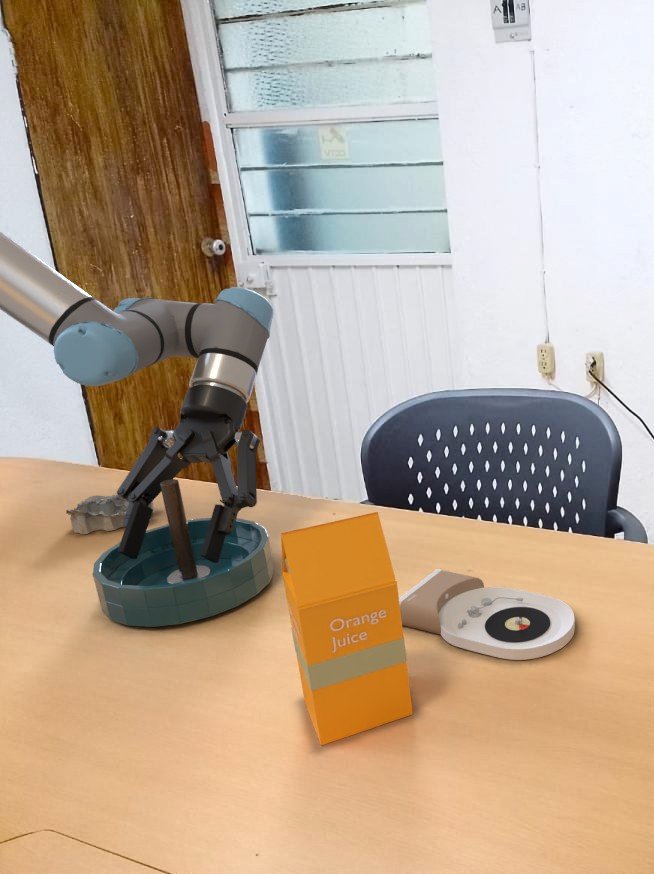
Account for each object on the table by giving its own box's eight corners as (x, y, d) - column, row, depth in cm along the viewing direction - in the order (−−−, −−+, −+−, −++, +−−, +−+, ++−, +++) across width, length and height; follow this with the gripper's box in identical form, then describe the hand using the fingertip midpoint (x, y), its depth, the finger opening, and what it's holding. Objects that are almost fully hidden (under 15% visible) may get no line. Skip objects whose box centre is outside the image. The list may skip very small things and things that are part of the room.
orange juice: (413, 714, 80) (391, 526, 73) (320, 746, 76) (287, 550, 69) (390, 673, 86) (367, 497, 80) (303, 701, 82) (271, 518, 76)
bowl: (105, 575, 109) (96, 538, 107) (264, 542, 117) (257, 506, 115) (100, 648, 92) (89, 605, 90) (284, 603, 101) (277, 562, 99)
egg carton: (67, 537, 120) (60, 511, 119) (85, 516, 127) (78, 492, 126) (147, 528, 123) (141, 502, 121) (160, 508, 130) (154, 484, 128)
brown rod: (168, 581, 106) (145, 479, 101) (211, 572, 108) (190, 471, 103) (169, 598, 101) (146, 493, 97) (214, 588, 104) (193, 484, 99)
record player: (444, 562, 103) (591, 593, 95) (446, 584, 104) (591, 617, 96) (386, 607, 93) (544, 646, 85) (388, 631, 94) (545, 671, 86)
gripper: (311, 411, 111) (270, 570, 102) (156, 408, 114) (103, 562, 105) (285, 383, 104) (239, 551, 95) (122, 380, 107) (61, 543, 98)
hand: (167, 557), depth 100 cm, fingers open, 10 cm apart
